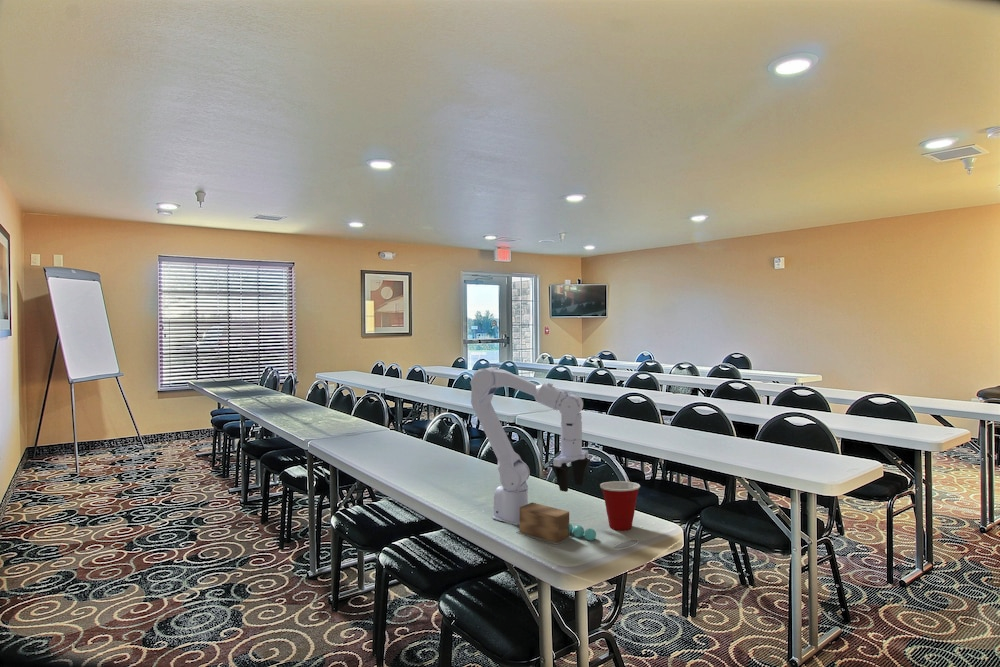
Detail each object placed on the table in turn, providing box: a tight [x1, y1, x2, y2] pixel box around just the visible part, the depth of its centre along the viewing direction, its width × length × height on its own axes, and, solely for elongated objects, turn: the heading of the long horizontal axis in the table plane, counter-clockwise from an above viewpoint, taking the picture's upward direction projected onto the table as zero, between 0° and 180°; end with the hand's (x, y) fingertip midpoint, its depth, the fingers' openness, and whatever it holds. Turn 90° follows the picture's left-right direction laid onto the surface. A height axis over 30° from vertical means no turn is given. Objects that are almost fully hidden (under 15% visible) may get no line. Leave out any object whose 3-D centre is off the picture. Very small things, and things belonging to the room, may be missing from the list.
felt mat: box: [515, 530, 573, 546], centre depth 145 cm, size 13×7×1 cm, turn 50°
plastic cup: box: [599, 480, 641, 532], centre depth 151 cm, size 11×11×12 cm
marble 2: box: [572, 525, 585, 538], centre depth 144 cm, size 3×3×3 cm
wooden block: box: [519, 502, 570, 543], centre depth 145 cm, size 12×6×6 cm, turn 50°
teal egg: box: [583, 527, 597, 541], centre depth 142 cm, size 3×3×3 cm
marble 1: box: [569, 522, 574, 535], centre depth 146 cm, size 3×3×3 cm
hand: (571, 487), depth 152 cm, fingers open, 7 cm apart
